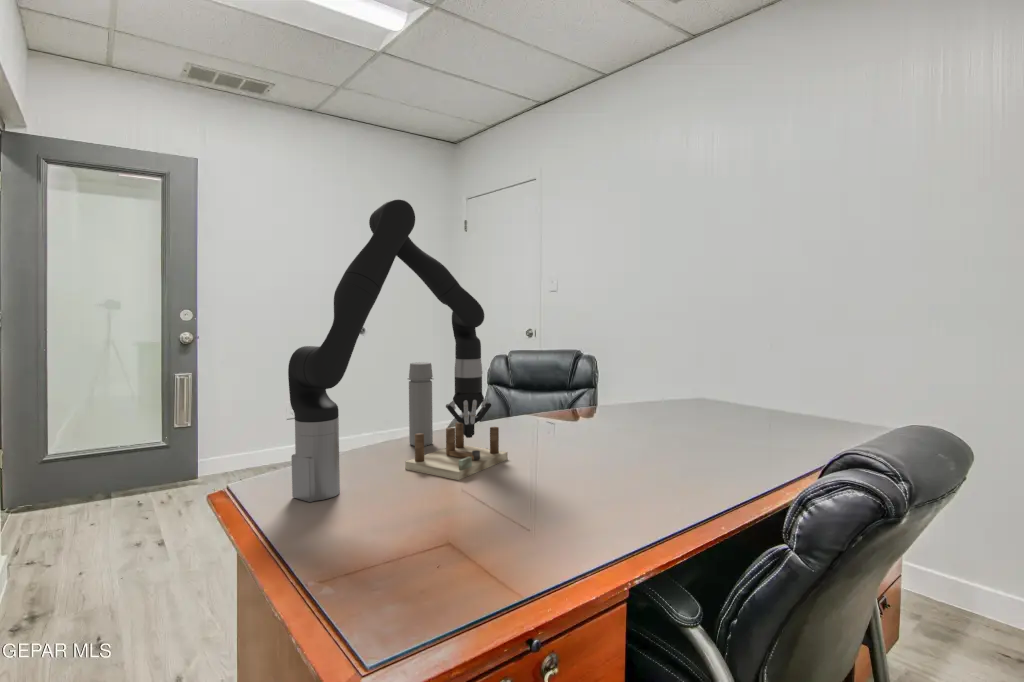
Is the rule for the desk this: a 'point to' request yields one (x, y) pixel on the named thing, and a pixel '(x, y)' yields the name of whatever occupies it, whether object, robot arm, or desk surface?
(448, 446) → the swing leg
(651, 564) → the desk surface
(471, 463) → the stool frame
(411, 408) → the water bottle
